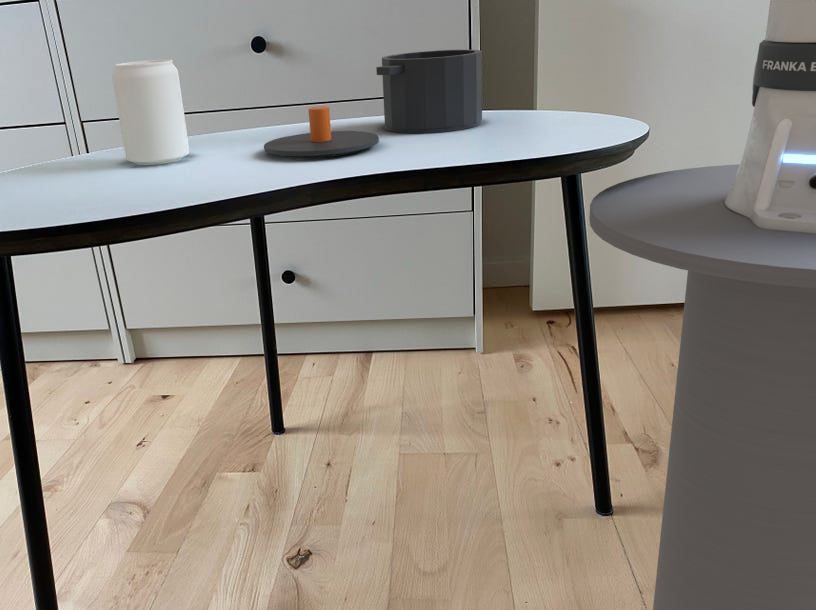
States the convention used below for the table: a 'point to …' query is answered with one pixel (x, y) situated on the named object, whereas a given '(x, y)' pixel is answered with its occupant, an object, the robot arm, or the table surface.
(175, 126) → the beverage can
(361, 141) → the lid
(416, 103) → the pot
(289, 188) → the table surface
